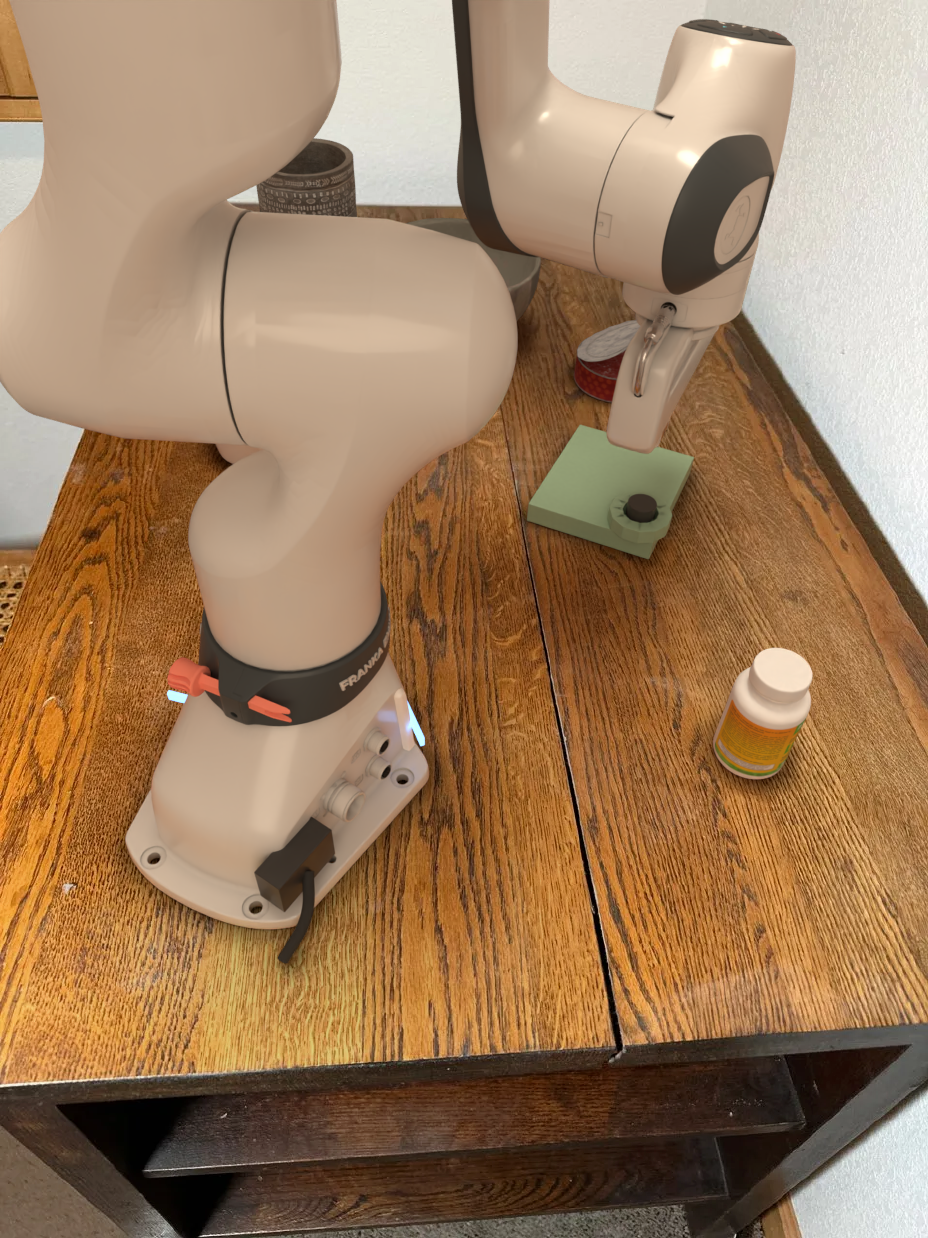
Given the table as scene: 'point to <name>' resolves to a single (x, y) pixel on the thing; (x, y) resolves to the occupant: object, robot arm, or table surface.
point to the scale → (609, 492)
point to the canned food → (603, 359)
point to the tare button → (641, 508)
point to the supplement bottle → (764, 714)
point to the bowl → (495, 260)
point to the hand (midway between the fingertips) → (652, 437)
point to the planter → (313, 183)
